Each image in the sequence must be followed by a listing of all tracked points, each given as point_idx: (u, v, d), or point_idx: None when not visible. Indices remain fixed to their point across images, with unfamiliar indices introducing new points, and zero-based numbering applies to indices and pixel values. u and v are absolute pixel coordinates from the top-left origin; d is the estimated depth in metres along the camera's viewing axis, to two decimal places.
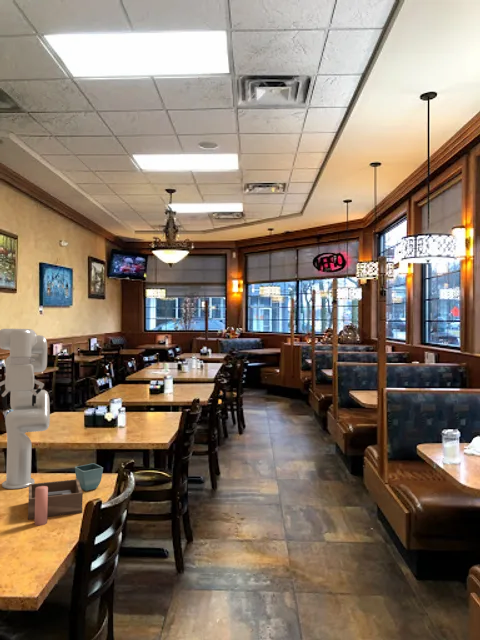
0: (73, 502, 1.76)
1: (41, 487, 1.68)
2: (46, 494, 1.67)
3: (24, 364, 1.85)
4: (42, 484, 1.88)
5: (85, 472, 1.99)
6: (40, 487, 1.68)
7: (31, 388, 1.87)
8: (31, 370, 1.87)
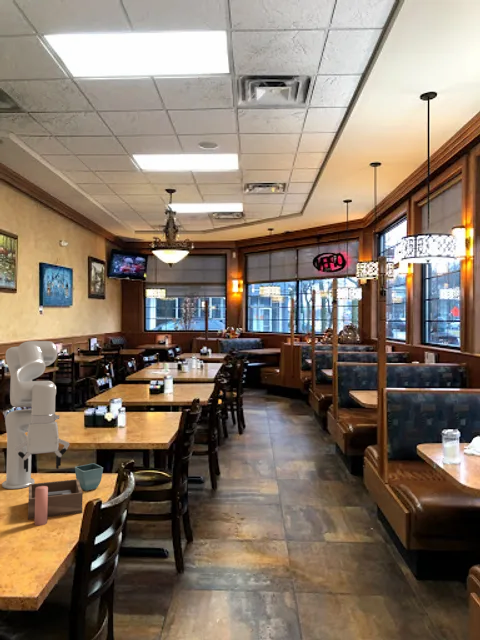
0: (73, 502, 1.76)
1: (41, 487, 1.68)
2: (46, 494, 1.67)
3: (48, 423, 1.65)
4: (42, 484, 1.88)
5: (85, 472, 1.99)
6: (40, 487, 1.68)
7: (55, 449, 1.67)
8: (55, 429, 1.67)
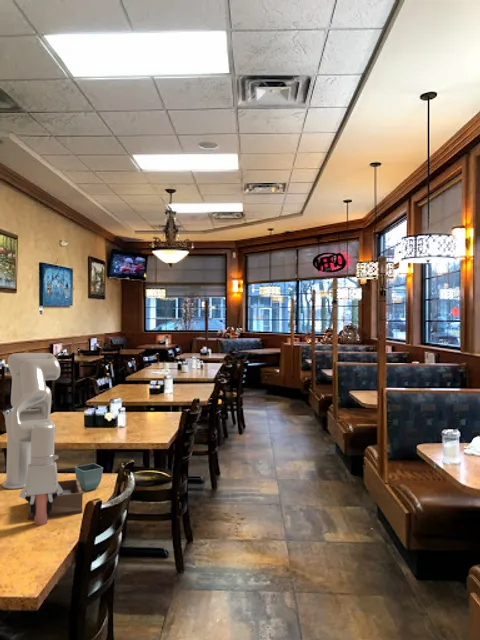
0: (73, 502, 1.76)
1: None
2: (46, 494, 1.67)
3: (47, 465, 1.65)
4: None
5: (85, 472, 1.99)
6: None
7: (54, 490, 1.67)
8: (54, 470, 1.67)
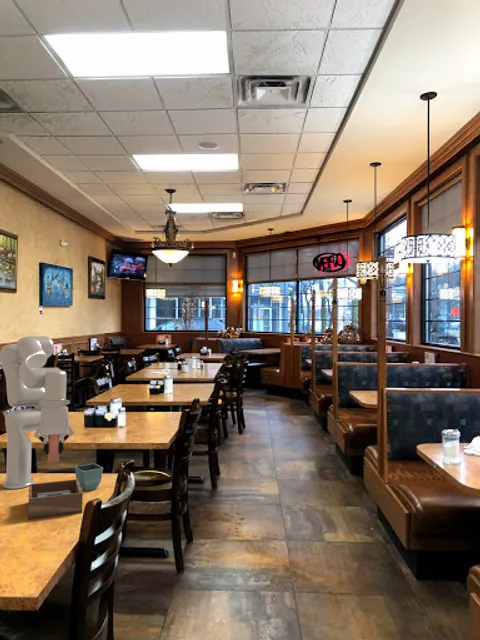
0: (73, 502, 1.76)
1: None
2: (58, 435, 1.80)
3: (59, 407, 1.78)
4: (42, 484, 1.88)
5: (85, 472, 1.99)
6: None
7: (66, 432, 1.80)
8: (66, 413, 1.80)
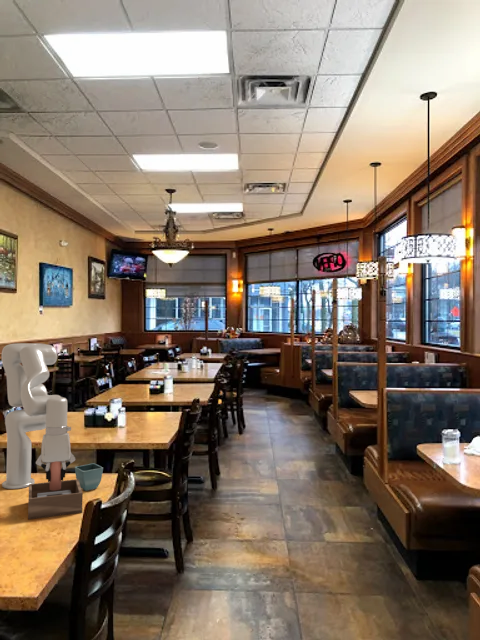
0: (73, 502, 1.76)
1: None
2: (60, 462, 1.82)
3: (61, 434, 1.80)
4: (42, 484, 1.88)
5: (85, 472, 1.99)
6: None
7: (67, 458, 1.82)
8: (67, 440, 1.82)
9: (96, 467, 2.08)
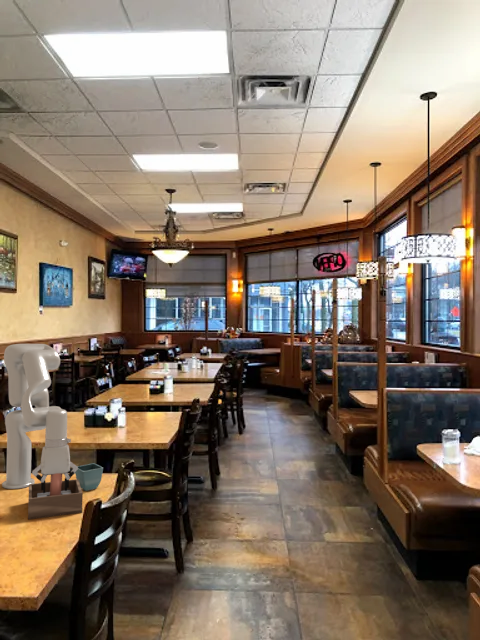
0: (73, 502, 1.76)
1: None
2: (60, 478, 1.82)
3: (60, 447, 1.80)
4: None
5: (85, 472, 1.99)
6: None
7: (67, 470, 1.82)
8: (67, 452, 1.82)
9: (96, 467, 2.08)
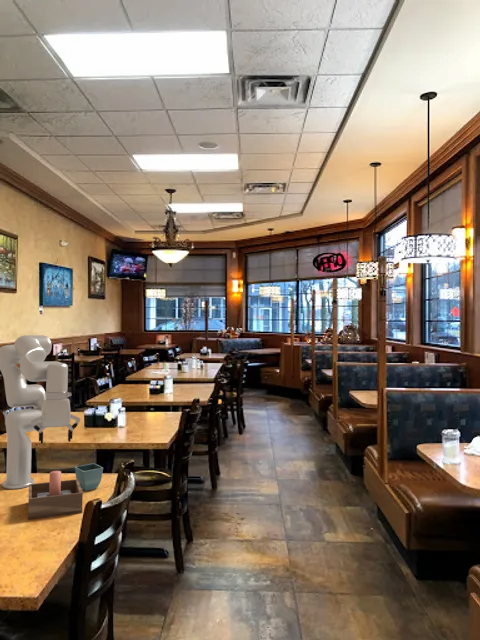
0: (73, 502, 1.76)
1: (55, 471, 1.83)
2: (59, 478, 1.82)
3: (61, 399, 1.80)
4: (42, 484, 1.88)
5: (85, 472, 1.99)
6: (54, 472, 1.83)
7: (68, 423, 1.83)
8: (68, 405, 1.83)
9: (96, 467, 2.08)
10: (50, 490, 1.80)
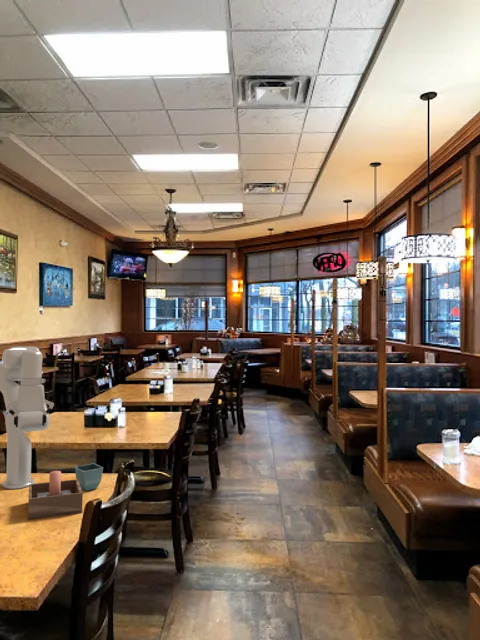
0: (73, 502, 1.76)
1: (55, 471, 1.83)
2: (59, 478, 1.82)
3: (35, 385, 1.90)
4: (42, 484, 1.88)
5: (85, 472, 1.99)
6: (54, 472, 1.83)
7: (42, 408, 1.92)
8: (42, 391, 1.92)
9: (96, 467, 2.08)
10: (50, 490, 1.80)
